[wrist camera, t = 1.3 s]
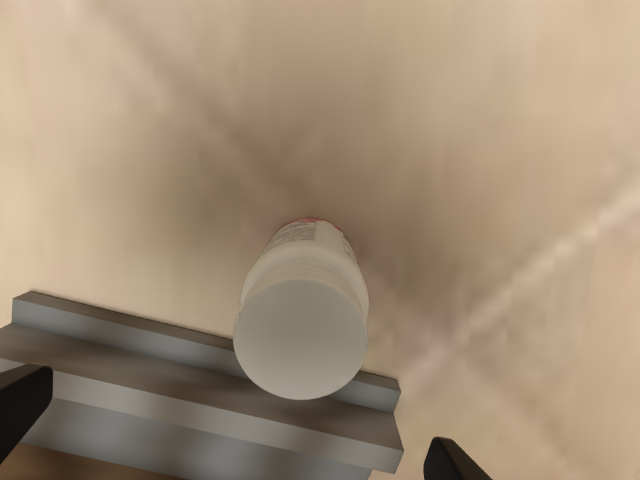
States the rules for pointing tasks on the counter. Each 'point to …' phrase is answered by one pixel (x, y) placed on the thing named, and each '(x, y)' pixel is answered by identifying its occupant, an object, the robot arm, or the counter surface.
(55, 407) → the cleat board
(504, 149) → the counter surface
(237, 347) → the pill bottle
